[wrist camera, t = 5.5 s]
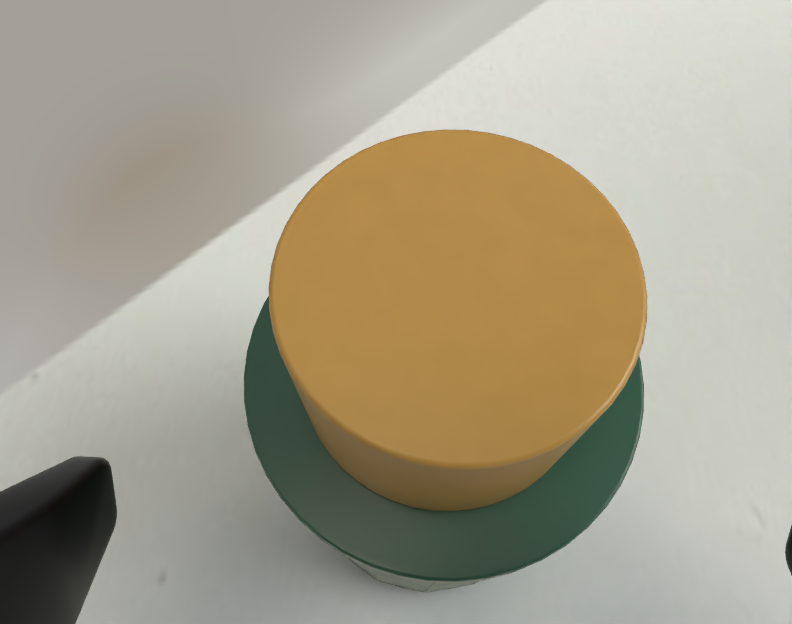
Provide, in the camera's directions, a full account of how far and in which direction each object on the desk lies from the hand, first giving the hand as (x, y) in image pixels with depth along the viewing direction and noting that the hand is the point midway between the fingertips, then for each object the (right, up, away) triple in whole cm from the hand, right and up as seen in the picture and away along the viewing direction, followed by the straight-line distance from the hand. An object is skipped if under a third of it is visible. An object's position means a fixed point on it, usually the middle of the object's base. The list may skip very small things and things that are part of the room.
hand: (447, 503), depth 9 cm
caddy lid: (0, +1, +4) cm, 4 cm away
